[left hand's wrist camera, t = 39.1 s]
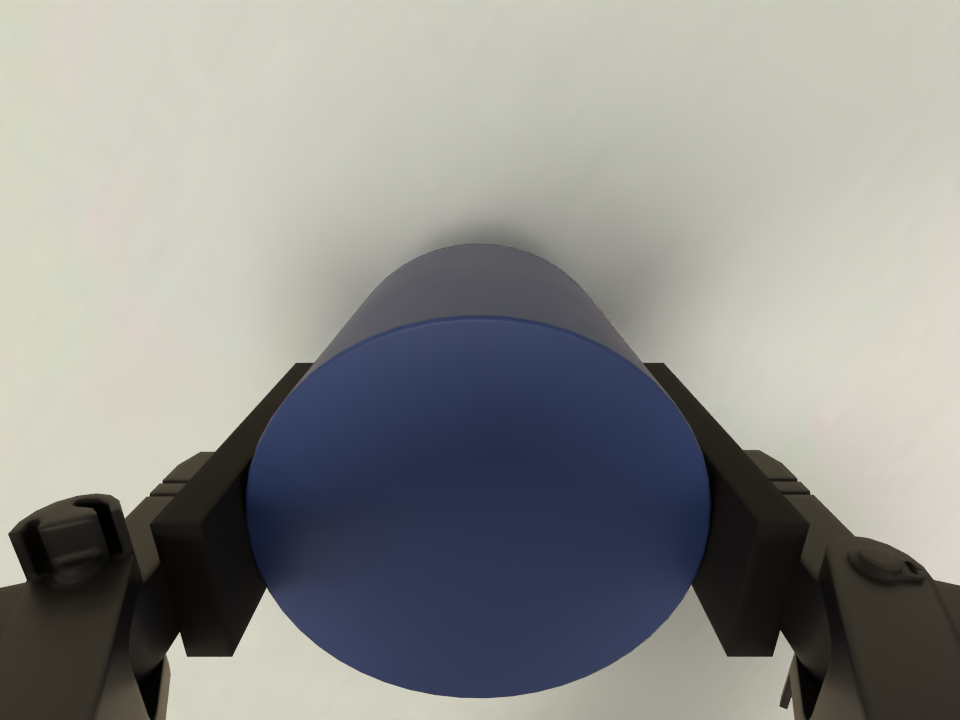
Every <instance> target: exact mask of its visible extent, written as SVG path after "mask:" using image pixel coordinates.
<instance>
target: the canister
mask: <svg viewBox="0 0 960 720" xmlns="http://www.w3.org/2000/svg"><path fill="white" fill-rule="evenodd" d="M710 517H711V495H710V484H709V477H708V473H707V469H706V465H705V461H704V458H703V454H702V451H701V449H700V447H699V444H698V442H697V440H696V438H695V435H694V433H693V431H692V429H691V427H690V425H689V424H688V422H687V421H686V419H685V418H684V416H683V414H682V413H681V411H680V410H679V408H678V407H677V405H676V404H675V402H674V401H673V400H672V399H671V398H670V396H669V395H668V394H667V393H666V391H665V390H664V389H663V388H662V386H661V385H660V384H659V383H658V381H657V380H656V379H655V378H654V377H653V375H652V374H651V373H650V372H649V370H648V369H647V368H646V367H645V365H644V364H643V363H642V362H641V360H640V359H639V358H638V357H637V355H636V354H635V353H634V352H633V351H632V349H631V348H630V347H629V346H628V344H627V343H626V342H625V341H624V339H623V338H622V337H621V336H620V334H619V333H618V332H617V331H616V330H615V328H614V327H613V326H612V325H611V323H610V322H609V321H608V320H607V318H606V317H605V316H604V315H603V313H602V312H601V311H600V310H599V308H598V307H597V306H596V305H595V304H594V302H593V301H592V300H591V299H590V297H589V296H588V295H587V294H586V293H585V292H584V290H583V289H582V288H581V287H580V286H579V285H578V284H577V283H576V282H575V281H574V280H573V279H572V278H570V277H569V276H568V275H567V274H566V273H565V272H563V271H562V270H561V269H559V268H557V267H556V266H554V265H553V264H551V263H550V262H548V261H546V260H544V259H542V258H540V257H537V256H535V255H533V254H531V253H528V252H525V251H522V250H518V249H515V248H512V247H506V246H499V245H493V244H467V245H457V246H451V247H447V248H443V249H439V250H435V251H432V252H430V253H427V254H425V255H422V256H420V257H417V258H416V259H414V260H412V261H410V262H408V263H407V264H405V265H403V266H401V267H400V268H399V269H397V270H396V271H395V272H393V273H392V274H391V275H389V276H388V277H387V278H386V279H385V280H384V281H383V282H382V283H381V284H380V285H379V286H378V287H377V288H376V289H375V290H374V291H373V292H372V293H371V294H370V296H369V297H368V298H367V299H366V301H365V302H364V303H363V304H362V305H361V307H360V308H359V309H358V310H357V312H356V313H355V314H354V315H353V316H352V318H351V319H350V320H349V321H348V323H347V324H346V325H345V326H344V327H343V329H342V330H341V331H340V332H339V333H338V335H337V336H336V337H335V338H334V340H333V341H332V342H331V343H330V344H329V346H328V347H327V348H326V349H325V351H324V352H323V353H322V354H321V355H320V357H319V358H318V359H317V360H316V362H315V363H314V364H313V365H312V366H311V368H310V369H309V370H308V371H307V372H306V374H305V375H304V376H303V377H302V379H301V380H300V381H299V382H298V383H297V385H296V386H295V387H294V388H293V390H292V391H291V392H290V393H289V394H288V396H287V397H286V398H285V400H284V401H283V403H282V404H281V405H280V407H279V408H278V409H277V411H276V412H275V413H274V415H273V416H272V417H271V419H270V421H269V423H268V425H267V427H266V429H265V430H264V432H263V434H262V436H261V438H260V440H259V442H258V445H257V448H256V451H255V454H254V457H253V460H252V463H251V466H250V469H249V476H248V482H247V488H246V525H247V531H248V536H249V542H250V547H251V550H252V553H253V556H254V559H255V562H256V565H257V568H258V571H259V573H260V575H261V577H262V579H263V581H264V582H265V584H266V586H267V588H268V590H269V592H270V593H271V595H272V596H273V598H274V599H275V601H276V602H277V604H278V605H279V607H280V608H281V609H282V611H283V612H284V613H285V614H286V615H287V616H288V618H289V619H290V620H291V621H292V622H293V623H294V624H295V625H296V626H297V628H298V629H299V630H300V631H301V632H303V633H304V634H305V635H306V636H307V637H308V638H310V639H311V640H312V641H313V642H314V643H315V644H316V645H318V646H319V647H320V648H322V649H323V650H325V651H326V652H328V653H329V654H330V655H332V656H333V657H335V658H336V659H338V660H339V661H341V662H343V663H345V664H347V665H349V666H350V667H352V668H354V669H356V670H358V671H360V672H362V673H364V674H366V675H369V676H371V677H374V678H376V679H378V680H381V681H383V682H386V683H389V684H392V685H396V686H399V687H402V688H406V689H409V690H413V691H418V692H423V693H428V694H433V695H441V696H450V697H459V698H495V697H508V696H516V695H522V694H528V693H534V692H539V691H543V690H547V689H551V688H554V687H558V686H562V685H565V684H568V683H570V682H573V681H576V680H578V679H581V678H584V677H586V676H588V675H591V674H593V673H595V672H597V671H599V670H601V669H603V668H605V667H607V666H609V665H611V664H612V663H614V662H615V661H617V660H619V659H620V658H622V657H623V656H625V655H627V654H628V653H630V652H631V651H632V650H634V649H635V648H636V647H637V646H639V645H640V644H641V643H642V642H644V641H645V640H646V639H648V638H649V637H650V636H651V635H652V634H653V633H654V632H655V631H656V630H657V629H658V628H659V627H660V626H661V625H662V624H663V623H664V622H665V621H666V620H667V619H668V618H669V616H670V615H671V614H672V612H673V611H674V610H675V609H676V607H677V606H678V605H679V603H680V602H681V601H682V599H683V598H684V596H685V594H686V593H687V591H688V589H689V587H690V586H691V584H692V582H693V580H694V579H695V576H696V574H697V571H698V569H699V566H700V564H701V561H702V559H703V556H704V553H705V549H706V544H707V540H708V536H709V531H710Z"/></svg>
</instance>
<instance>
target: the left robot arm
mask: <svg viewBox="0 0 960 720" xmlns="http://www.w3.org/2000/svg"><path fill="white" fill-rule="evenodd" d="M313 364H314V363H296V364H295V365H294V366H293V367H292V368H291V369H290V370H289V371H288V372H287V374H286V375H285V376H284V377H283V378H282V379H281V380H280V381H279V382H278V383H277V385H276V386H275V387H274V388H273V389H272V390H271V391H270V392H269V393H268V394H267V396H266V397H265V398H264V399H263V400H262V401H261V402H260V403H259V404H258V405H257V407H256V408H255V409H254V410H253V411H252V412H251V413H250V414H249V415H248V416H247V418H246V419H245V420H244V421H243V422H242V423H241V424H240V425H239V426H238V427H237V429H236V430H235V431H234V432H233V433H232V434H231V435H230V436H229V437H228V438H227V440H226V441H225V442H224V443H223V444H222V445H221V446H220V447H219V448H218V449H217V451H216V452H200V453H198V454H196V455H195V456H193V457H191V458H189V459H188V460H186V461H184V462H183V463H181V464H179V465H178V466H177V467H176V468H175V469H174V470H173V471H172V472H171V473H170V474H169V475H168V476H167V477H166V478H165V479H164V480H163V483H162V484H159V485H158V486H157V487H156V488H155V489H154V490H153V491H152V492H151V493H150V497H146V498H145V499H144V500H143V501H142V502H141V503H140V504H139V505H138V506H137V507H136V508H135V509H134V510H133V511H132V512H131V513H130V514H129V515H128V516H127V517H126V518H124V515H123V512H122V508H121V505H120V502H119V500H118V499H116V498H114V497H113V496H111V495H105V494H89V495H81V496H75V497H72V498H68V499H65V500H61V501H58V502H55V503H53V504H51V505H48V506H46V507H44V508H42V509H40V510H37V511H35V512H34V513H32V514H31V515H29V516H28V517H26V518H25V519H23V520H22V521H20V522H19V523H18V524H17V525H16V526H15V527H14V528H13V529H12V530H11V532H10V533H9V534H8V535H9V537H10V540H11V542H12V545H13V547H14V550H15V552H16V554H17V557H18V559H19V562H20V564H21V567H22V569H23V571H24V574H25V576H26V579H27V581H26V583H21V584H17V585H12V586H7V587H3V588H0V720H166V711H167V702H168V693H169V684H170V675H171V674H170V668H169V662H168V659H167V656H166V652H167V651H168V649H169V648H170V646H171V645H172V643H173V641H174V640H175V638H176V637H177V635H178V634H179V632H180V633H181V637H182V640H183V644H184V647H185V651H186V655H187V657H232V656H233V654H234V652H235V650H236V648H237V646H238V644H239V642H240V640H241V638H242V636H243V634H244V632H245V630H246V628H247V626H248V624H249V622H250V620H251V618H252V616H253V614H254V612H255V610H256V608H257V606H258V604H259V602H260V600H261V598H262V596H263V594H264V592H265V590H266V588H267V586H266V584H265V582H264V581H263V579H262V577H261V575H260V573H259V571H258V568H257V565H256V562H255V559H254V556H253V553H252V550H251V547H250V542H249V536H248V531H247V525H246V488H247V482H248V476H249V469H250V466H251V463H252V460H253V457H254V454H255V451H256V448H257V445H258V442H259V440H260V438H261V436H262V434H263V432H264V430H265V429H266V427H267V425H268V423H269V421H270V419H271V417H272V416H273V415H274V413H275V412H276V411H277V409H278V408H279V407H280V405H281V404H282V403H283V401H284V400H285V398H286V397H287V396H288V394H289V393H290V392H291V391H292V390H293V388H294V387H295V386H296V385H297V383H298V382H299V381H300V380H301V379H302V377H303V376H304V375H305V374H306V372H307V371H308V370H309V369H310V368H311V366H312V365H313ZM643 364H644V365H645V367H646V368H647V369H648V370H649V372H650V373H651V374H652V375H653V377H654V378H655V379H656V380H657V381H658V383H659V384H660V385H661V386H662V388H663V389H664V390H665V391H666V393H667V394H668V395H669V396H670V398H671V399H672V400H673V401H674V402H675V404H676V405H677V407H678V408H679V410H680V411H681V413H682V414H683V416H684V418H685V419H686V421H687V422H688V424H689V425H690V427H691V429H692V431H693V433H694V435H695V438H696V440H697V442H698V444H699V447H700V449H701V451H702V454H703V458H704V461H705V465H706V469H707V473H708V477H709V484H710V495H711V517H710V531H709V536H708V540H707V544H706V549H705V553H704V556H703V559H702V561H701V564H700V566H699V569H698V571H697V574H696V576H695V579H694V580H693V582H692V586H693V588H694V590H695V592H696V594H697V596H698V598H699V600H700V602H701V604H702V606H703V608H704V610H705V612H706V614H707V616H708V618H709V620H710V622H711V624H712V626H713V628H714V630H715V632H716V634H717V636H718V638H719V641H720V643H721V645H722V647H723V649H724V651H725V653H726V655H727V657H773V653H774V650H775V646H776V643H777V639H778V636H779V632H780V630H781V632H782V633H783V635H784V636H785V638H786V639H787V641H788V642H789V644H790V646H791V647H792V649H793V650H794V652H795V653H794V656H793V659H792V662H791V666H790V669H789V672H788V676H787V679H786V682H785V685H784V689H783V692H782V695H781V701H780V707H783V708H785V709H787V708H788V705H789V702H790V699H791V697H792V700H793V709H794V718H795V720H960V586H959V585H954V584H950V583H945V582H940V581H936V580H933V579H932V577H931V576H930V575H929V573H928V572H927V571H926V570H925V568H924V567H923V566H922V565H920V564H919V563H918V562H916V561H915V560H914V559H913V558H911V557H910V556H909V555H907V554H905V553H903V552H901V551H899V550H897V549H896V548H894V547H892V546H890V545H887V544H884V543H881V542H878V541H875V540H872V539H869V538H863V537H856V536H854V535H853V534H852V533H851V532H850V531H849V530H848V529H847V528H846V527H845V526H844V525H843V524H842V523H841V522H840V521H839V520H838V519H837V518H836V517H835V516H834V515H833V514H832V513H831V512H830V511H829V510H828V509H827V508H826V507H825V506H824V505H823V504H822V503H821V502H820V501H819V500H818V499H817V498H816V497H815V496H814V495H810V491H809V490H808V489H807V488H806V487H805V486H804V485H803V484H802V483H801V482H798V481H797V478H796V477H795V476H794V475H793V474H792V473H791V472H790V471H789V470H788V469H787V468H786V467H785V466H784V465H783V464H782V463H780V462H779V461H777V460H775V459H774V458H772V457H770V456H768V455H767V454H765V453H763V452H761V451H760V450H742V449H741V448H740V447H739V445H738V444H737V443H736V442H735V441H734V440H733V439H732V438H731V437H730V436H729V434H728V433H727V432H726V431H725V430H724V429H723V428H722V427H721V426H720V425H719V423H718V422H717V421H716V420H715V419H714V418H713V417H712V416H711V415H710V414H709V412H708V411H707V410H706V409H705V408H704V407H703V406H702V405H701V404H700V403H699V401H698V400H697V399H696V398H695V397H694V396H693V395H692V394H691V393H690V392H689V390H688V389H687V388H686V387H685V386H684V385H683V384H682V383H681V382H680V381H679V379H678V378H677V377H676V376H675V375H674V374H673V373H672V372H671V371H670V370H669V368H668V367H667V366H666V365H665V364H664V363H643Z"/></svg>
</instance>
